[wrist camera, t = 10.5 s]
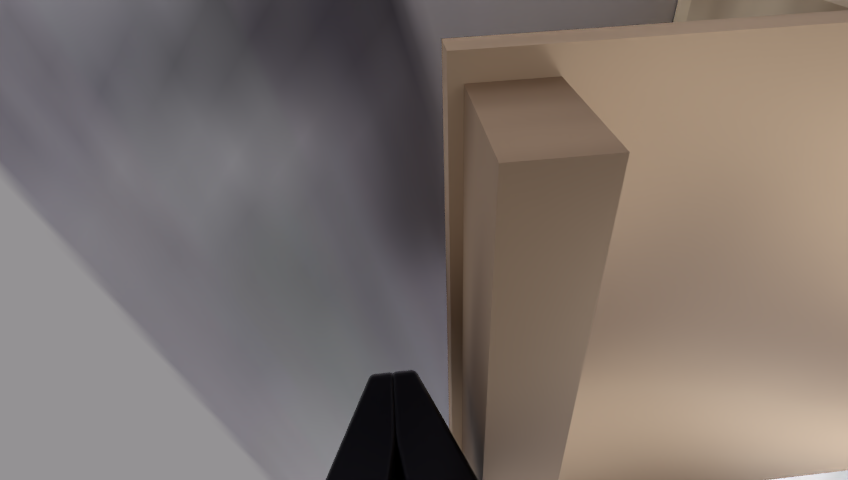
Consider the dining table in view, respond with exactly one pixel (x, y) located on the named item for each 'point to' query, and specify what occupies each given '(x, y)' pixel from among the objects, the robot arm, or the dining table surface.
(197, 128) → the dining table surface
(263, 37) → the dining table surface
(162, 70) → the dining table surface
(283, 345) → the dining table surface
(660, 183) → the lid
